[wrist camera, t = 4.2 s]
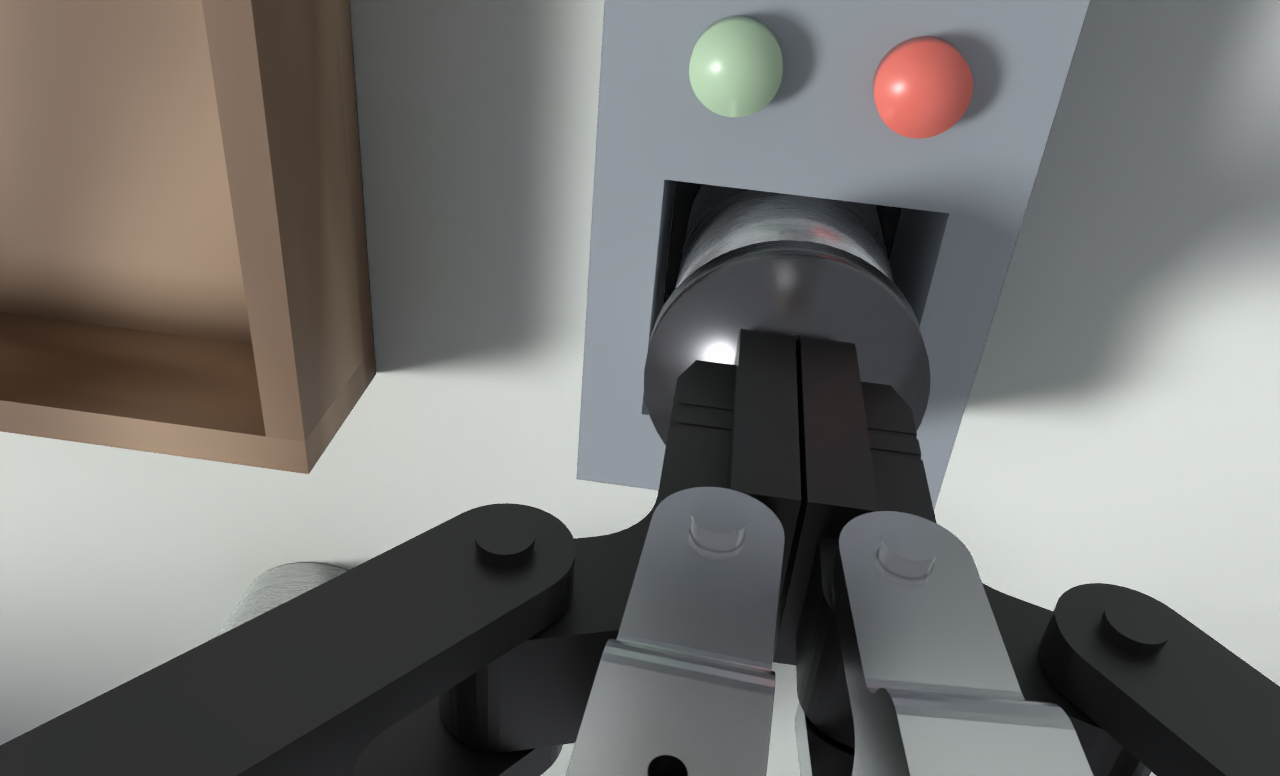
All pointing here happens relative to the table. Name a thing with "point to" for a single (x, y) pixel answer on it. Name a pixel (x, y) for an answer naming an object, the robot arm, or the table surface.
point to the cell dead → (279, 589)
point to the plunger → (784, 291)
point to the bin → (182, 227)
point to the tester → (816, 167)
